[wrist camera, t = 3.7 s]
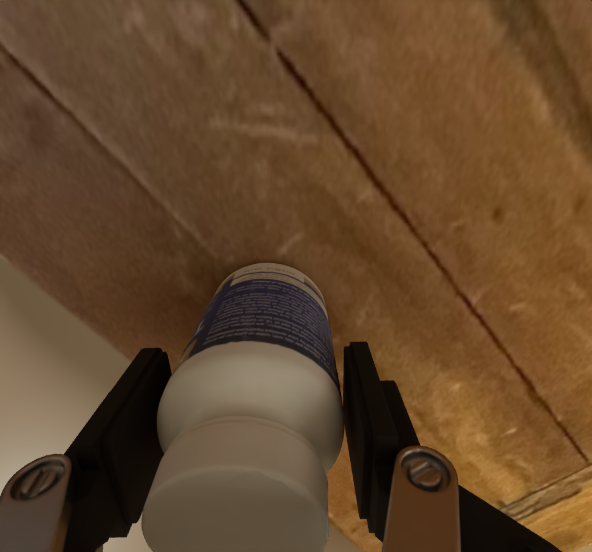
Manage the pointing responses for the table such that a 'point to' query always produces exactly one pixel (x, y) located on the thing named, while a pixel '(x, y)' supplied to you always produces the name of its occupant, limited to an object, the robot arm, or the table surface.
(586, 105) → the table surface
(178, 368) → the pill bottle
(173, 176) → the table surface
